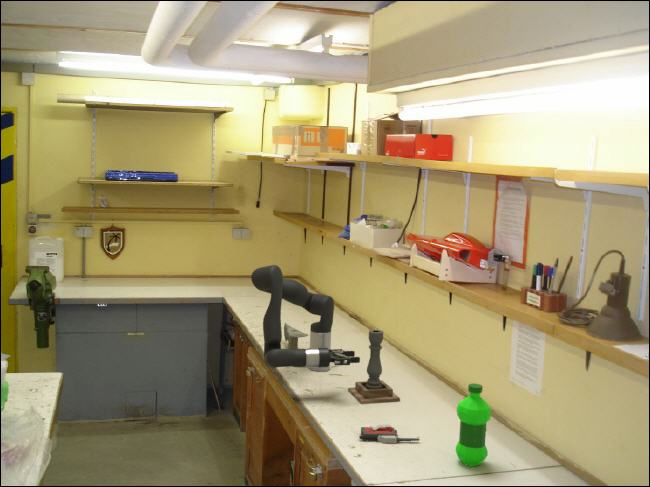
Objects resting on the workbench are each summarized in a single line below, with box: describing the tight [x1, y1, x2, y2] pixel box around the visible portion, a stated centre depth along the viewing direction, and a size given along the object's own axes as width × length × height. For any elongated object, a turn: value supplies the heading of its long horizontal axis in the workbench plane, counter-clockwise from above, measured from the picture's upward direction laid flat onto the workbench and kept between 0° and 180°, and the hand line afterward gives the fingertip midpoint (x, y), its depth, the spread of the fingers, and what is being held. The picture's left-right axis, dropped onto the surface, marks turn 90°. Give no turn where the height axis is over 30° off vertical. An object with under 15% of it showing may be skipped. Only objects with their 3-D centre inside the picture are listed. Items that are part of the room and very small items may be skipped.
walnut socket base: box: [347, 379, 401, 405], centre depth 290 cm, size 16×16×4 cm
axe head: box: [283, 322, 309, 350], centre depth 355 cm, size 27×10×10 cm, turn 20°
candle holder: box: [366, 329, 384, 390], centre depth 288 cm, size 6×6×25 cm
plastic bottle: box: [455, 383, 492, 467], centre depth 228 cm, size 10×10×25 cm
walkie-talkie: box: [359, 424, 420, 445], centre depth 247 cm, size 9×4×20 cm
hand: (357, 356), depth 286 cm, fingers open, 8 cm apart
